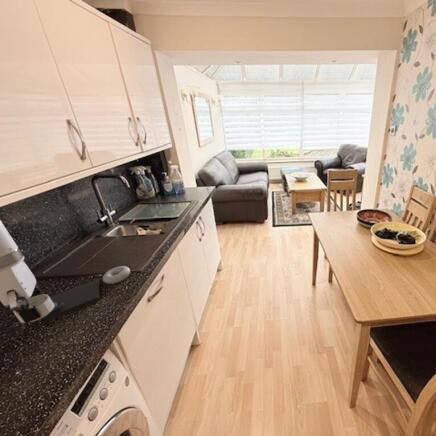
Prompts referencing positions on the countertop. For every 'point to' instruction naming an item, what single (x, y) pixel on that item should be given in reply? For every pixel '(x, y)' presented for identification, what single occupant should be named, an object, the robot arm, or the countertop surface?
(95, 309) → the countertop surface
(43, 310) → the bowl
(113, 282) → the donut
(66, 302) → the scale
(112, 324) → the countertop surface
